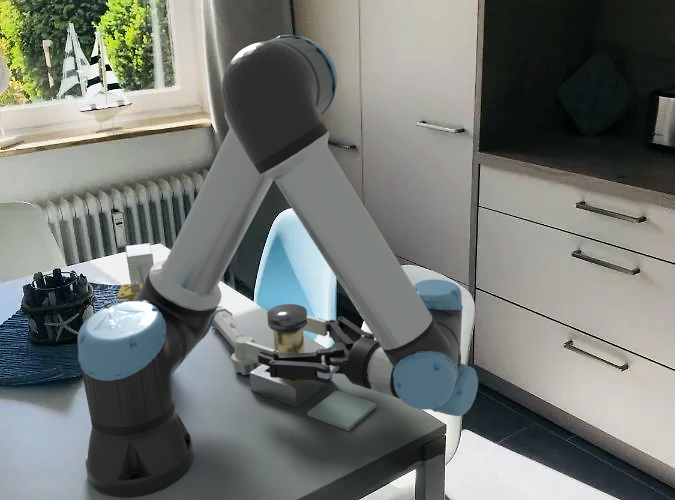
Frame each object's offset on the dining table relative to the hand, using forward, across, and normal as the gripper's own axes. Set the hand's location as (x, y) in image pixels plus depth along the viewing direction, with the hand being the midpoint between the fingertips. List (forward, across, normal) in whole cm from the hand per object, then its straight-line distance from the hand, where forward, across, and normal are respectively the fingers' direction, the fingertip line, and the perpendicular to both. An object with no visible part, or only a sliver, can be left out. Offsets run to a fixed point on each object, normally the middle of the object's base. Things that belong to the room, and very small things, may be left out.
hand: (272, 334), depth 124 cm
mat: (-16, -2, -9) cm, 18 cm away
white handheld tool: (+15, +6, -10) cm, 19 cm away
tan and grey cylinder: (-4, 0, -9) cm, 10 cm away
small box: (+52, +15, -9) cm, 55 cm away
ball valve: (+40, +4, -9) cm, 41 cm away
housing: (-4, 0, -9) cm, 10 cm away
